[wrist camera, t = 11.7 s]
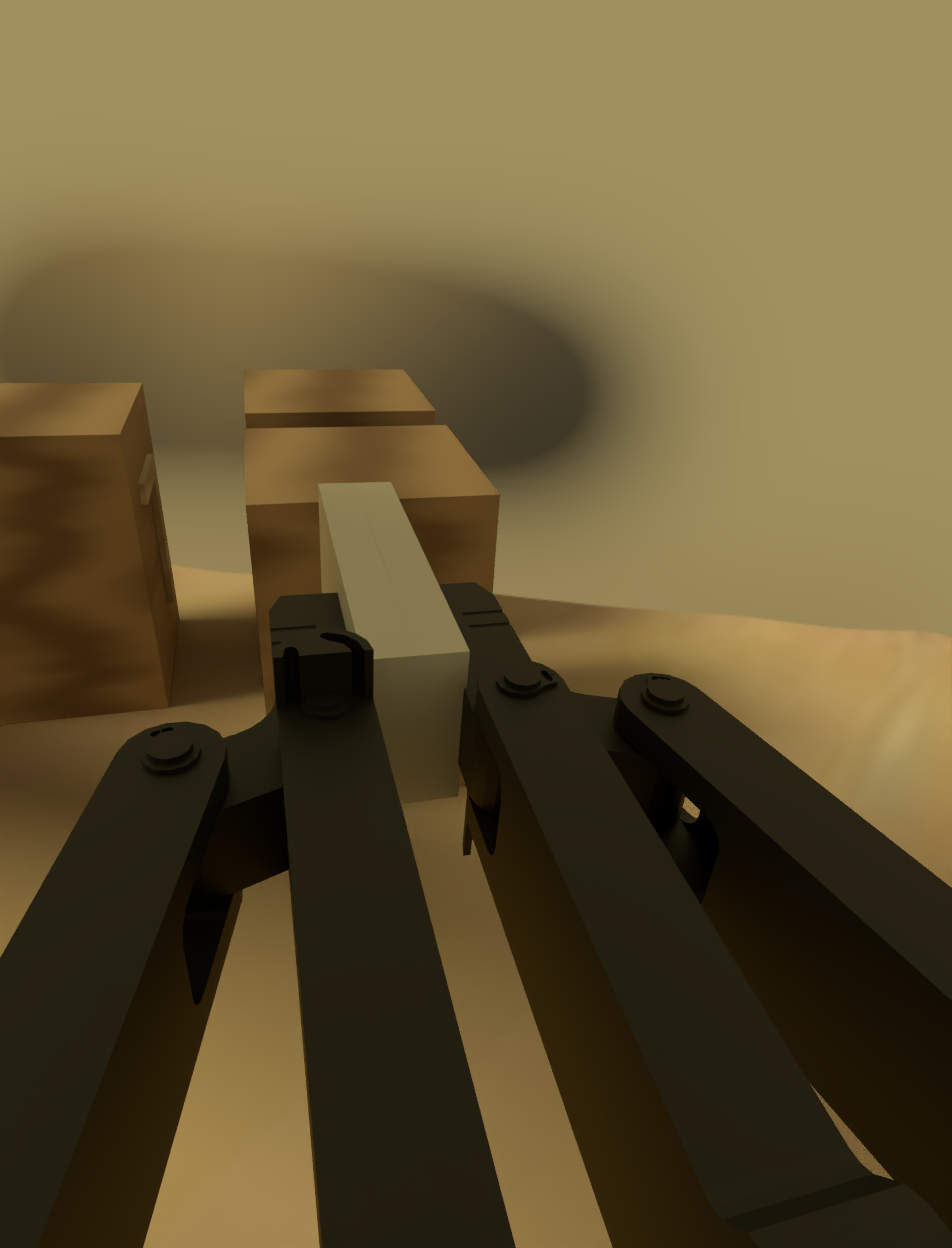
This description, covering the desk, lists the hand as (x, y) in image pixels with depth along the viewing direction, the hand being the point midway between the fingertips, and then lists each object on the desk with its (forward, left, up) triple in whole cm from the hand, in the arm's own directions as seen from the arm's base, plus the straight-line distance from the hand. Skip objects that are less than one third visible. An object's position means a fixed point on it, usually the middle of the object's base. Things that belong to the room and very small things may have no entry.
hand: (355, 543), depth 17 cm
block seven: (-25, +8, -17) cm, 32 cm away
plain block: (-9, +12, -17) cm, 23 cm away
